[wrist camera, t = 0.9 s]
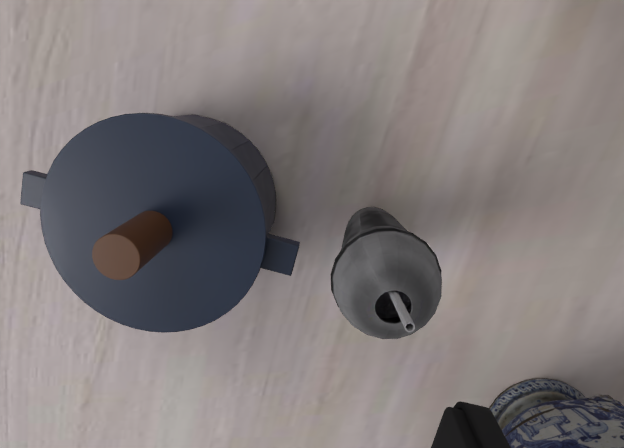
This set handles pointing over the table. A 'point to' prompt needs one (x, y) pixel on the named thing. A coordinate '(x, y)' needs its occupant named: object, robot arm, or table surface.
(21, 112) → the table surface
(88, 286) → the lid
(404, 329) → the beverage cup
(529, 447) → the decorative vase
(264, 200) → the pot
